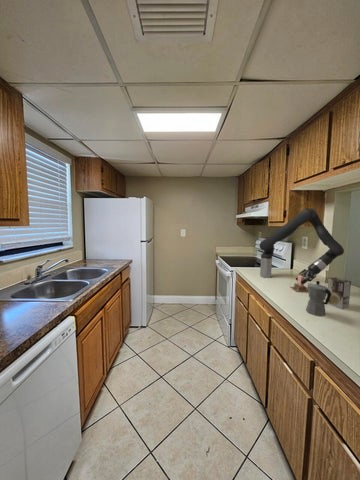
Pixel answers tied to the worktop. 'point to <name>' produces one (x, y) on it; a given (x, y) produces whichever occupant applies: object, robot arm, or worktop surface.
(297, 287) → the holder
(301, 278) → the salmon pink brick
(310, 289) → the coffeepot
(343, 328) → the worktop surface
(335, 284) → the coffee box
